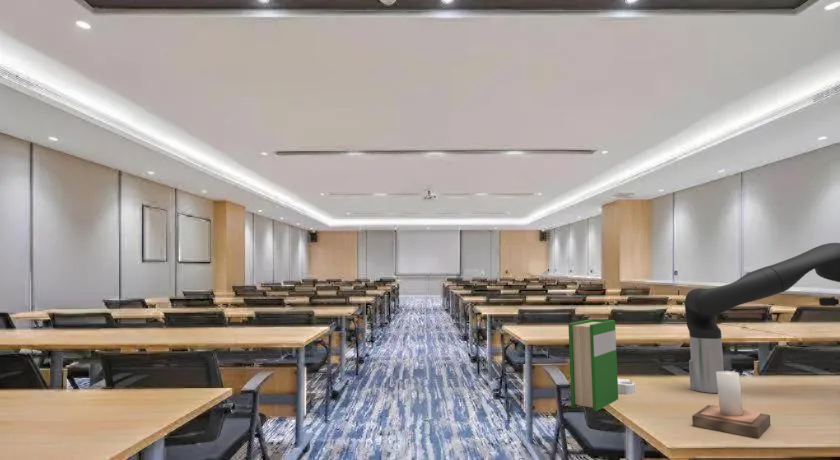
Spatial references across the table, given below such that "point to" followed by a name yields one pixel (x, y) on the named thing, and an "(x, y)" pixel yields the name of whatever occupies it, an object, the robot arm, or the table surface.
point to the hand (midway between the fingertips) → (830, 302)
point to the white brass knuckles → (626, 386)
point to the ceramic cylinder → (729, 393)
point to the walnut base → (732, 421)
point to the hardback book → (593, 363)
